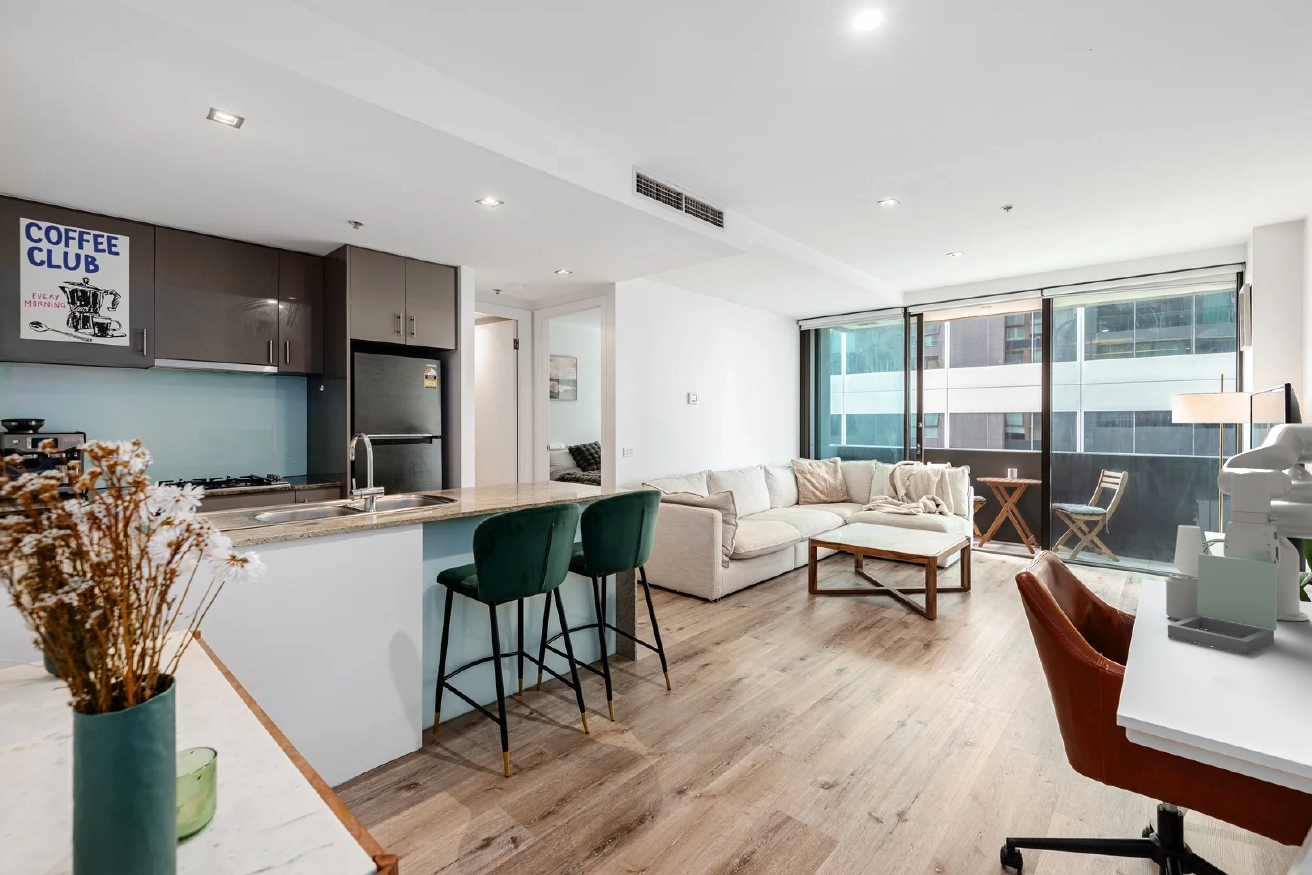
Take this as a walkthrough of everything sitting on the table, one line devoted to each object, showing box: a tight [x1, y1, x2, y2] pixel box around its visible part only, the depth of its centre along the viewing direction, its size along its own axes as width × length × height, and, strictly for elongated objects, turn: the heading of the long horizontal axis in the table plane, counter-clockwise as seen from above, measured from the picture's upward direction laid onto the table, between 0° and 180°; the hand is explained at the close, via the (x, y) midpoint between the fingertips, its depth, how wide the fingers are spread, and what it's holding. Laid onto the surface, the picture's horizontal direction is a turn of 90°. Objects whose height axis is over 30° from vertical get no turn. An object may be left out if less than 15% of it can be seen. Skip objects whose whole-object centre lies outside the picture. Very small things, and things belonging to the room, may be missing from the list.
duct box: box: [1167, 615, 1275, 656], centre depth 153 cm, size 16×15×3 cm
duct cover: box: [1197, 553, 1278, 631], centre depth 157 cm, size 16×15×1 cm
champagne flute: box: [1173, 524, 1204, 576], centre depth 178 cm, size 7×7×24 cm
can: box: [1165, 573, 1199, 621], centre depth 169 cm, size 8×8×12 cm
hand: (1250, 588), depth 162 cm, fingers closed
